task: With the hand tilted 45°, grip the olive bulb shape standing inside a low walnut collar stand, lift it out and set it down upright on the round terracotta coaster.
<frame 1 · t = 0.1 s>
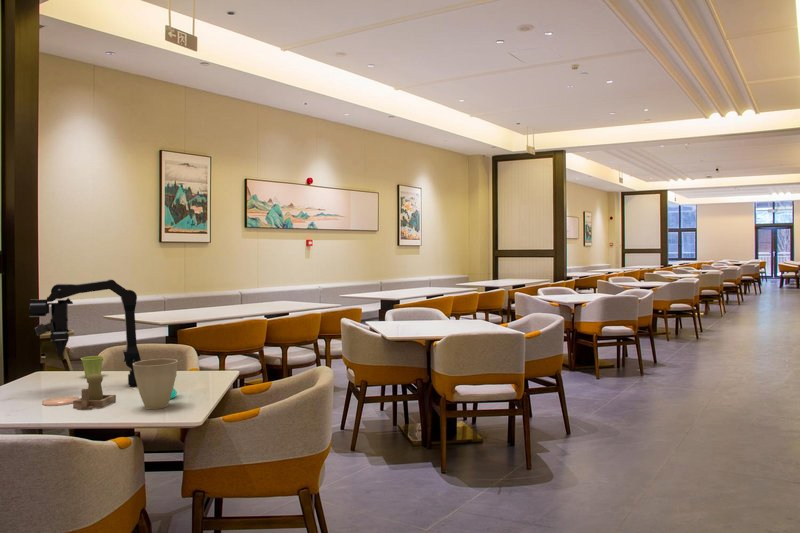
hand: (60, 355, 246), 15 cm above the table, tool pointing down, fingers open, 9 cm apart
plant pot: (155, 407, 222), on the table
donuts: (162, 398, 236), on the table
plant pot 2: (92, 377, 279), on the table
collar stand: (95, 404, 225), on the table
olive bulb shape: (95, 405, 225), resting in collar stand
coaster: (60, 402, 230), on the table
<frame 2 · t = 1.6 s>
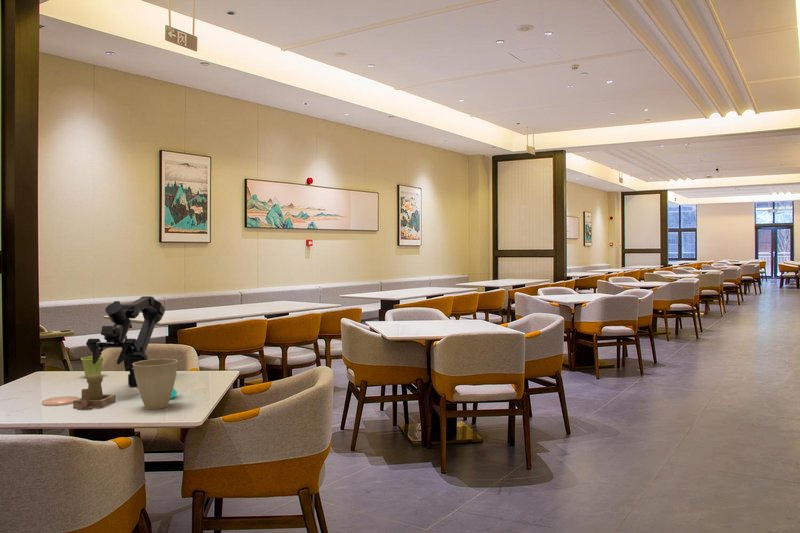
hand: (105, 363, 233), 13 cm above the table, tool tilted 45°, fingers open, 9 cm apart
nothing on the table moved.
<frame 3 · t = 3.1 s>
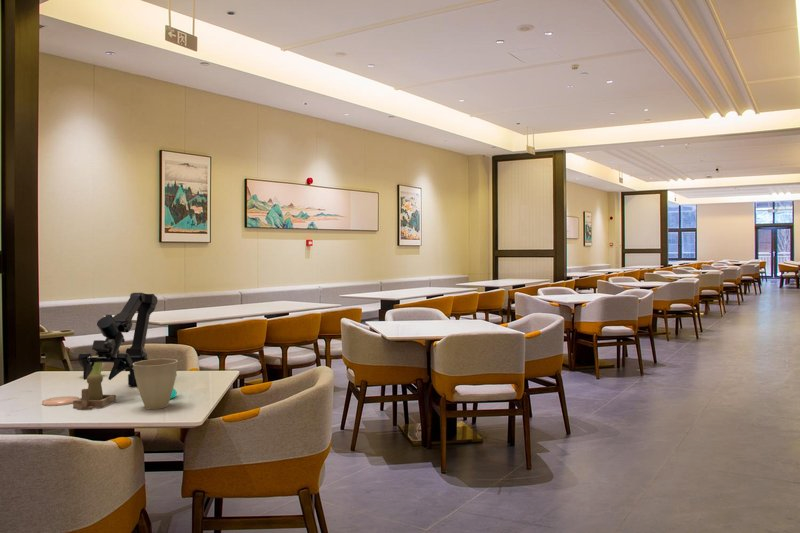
hand: (96, 379, 227), 9 cm above the table, tool tilted 45°, fingers open, 9 cm apart
nothing on the table moved.
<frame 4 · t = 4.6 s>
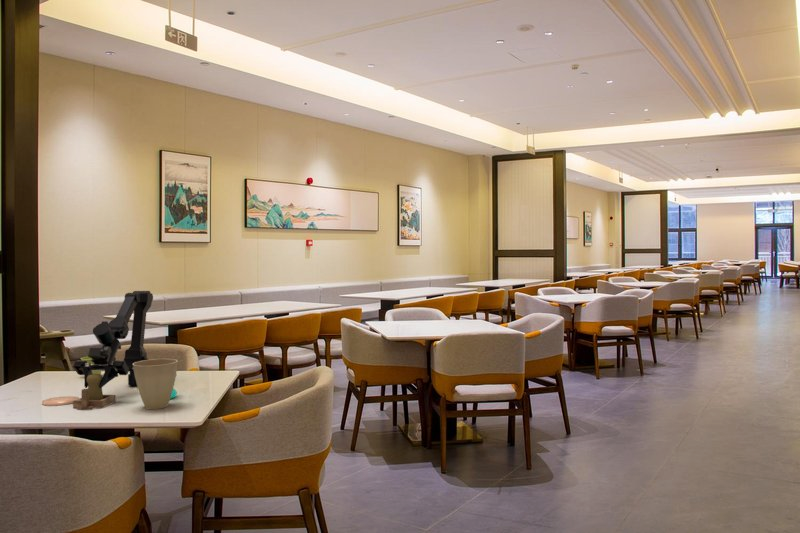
hand: (92, 387, 224), 7 cm above the table, tool tilted 45°, fingers closed on olive bulb shape, 5 cm apart
olive bulb shape: (95, 405, 225), resting in collar stand, touching gripper
everything else where it was.
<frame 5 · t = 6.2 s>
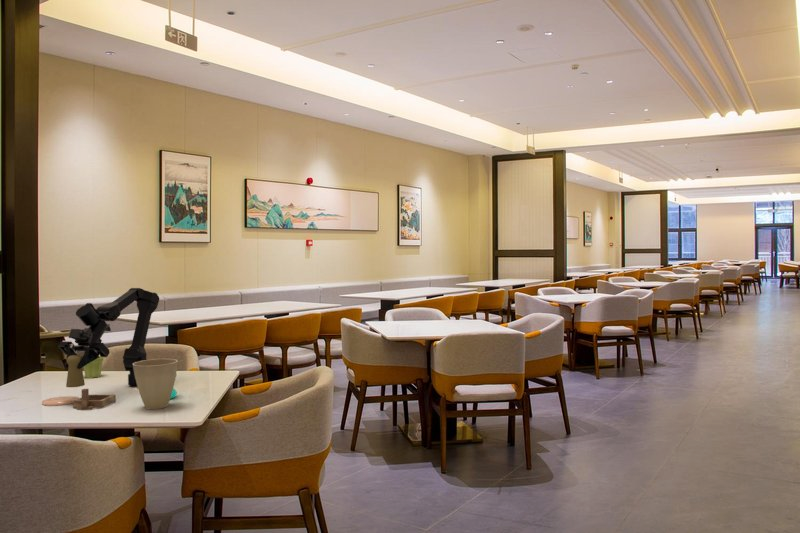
hand: (72, 368, 226), 13 cm above the table, tool tilted 45°, fingers closed on olive bulb shape, 5 cm apart
olive bulb shape: (75, 386, 227), point 6 cm above the table, touching gripper
everything else where it was.
when the fingers open (8 cm above the table, at t = 8.2 s): olive bulb shape stays where it is, resting on coaster.
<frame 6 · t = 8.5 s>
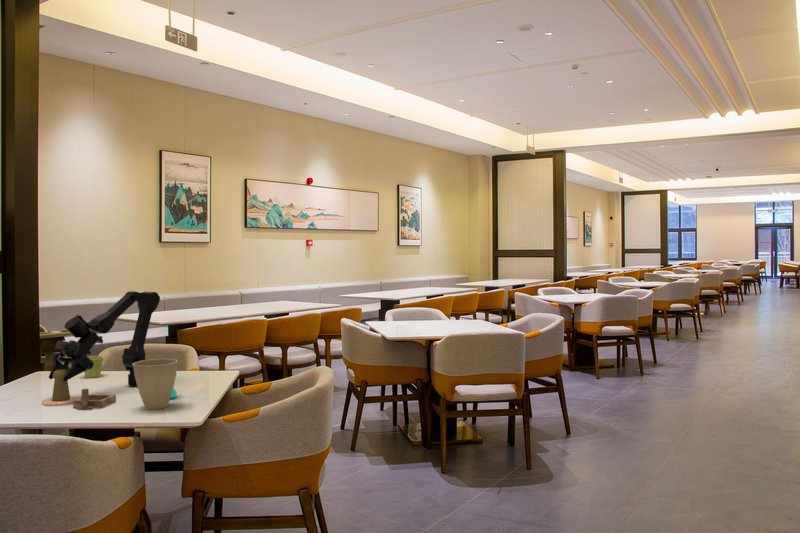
hand: (56, 379, 229), 9 cm above the table, tool tilted 45°, fingers open, 8 cm apart
olive bulb shape: (61, 400, 230), point 1 cm above the table, touching coaster
everything else where it was.
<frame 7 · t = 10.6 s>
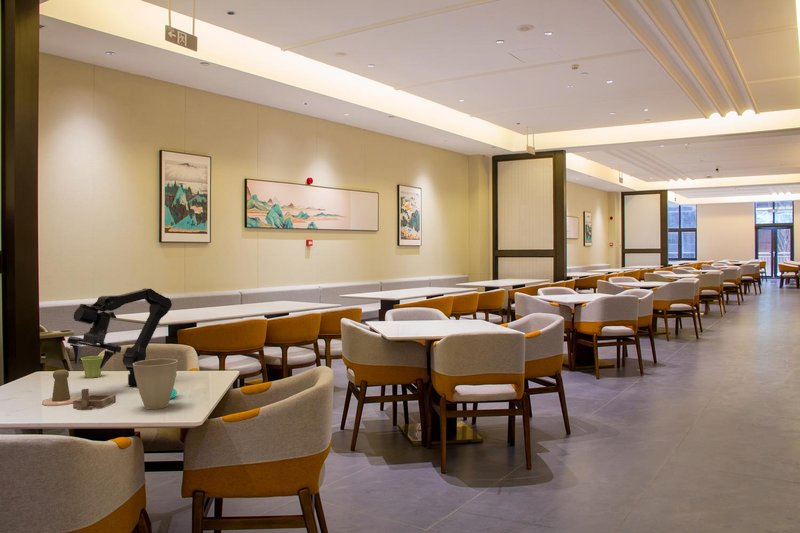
hand: (88, 366, 242), 11 cm above the table, tool tilted 20°, fingers open, 9 cm apart
nothing on the table moved.
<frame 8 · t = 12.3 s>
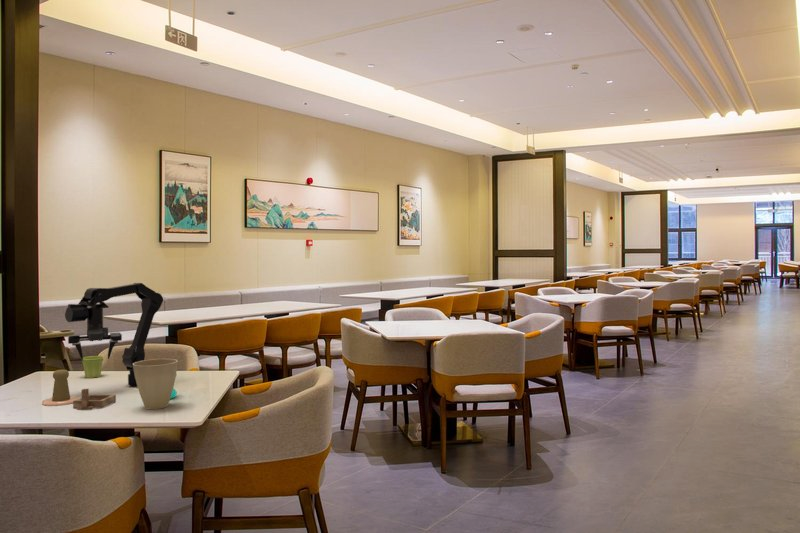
hand: (95, 359, 245), 13 cm above the table, tool pointing down, fingers open, 9 cm apart
nothing on the table moved.
at the end: olive bulb shape 0.1 cm from the coaster (horizontally); olive bulb shape tilted 0°; olive bulb shape point 0.6 cm above the table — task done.
